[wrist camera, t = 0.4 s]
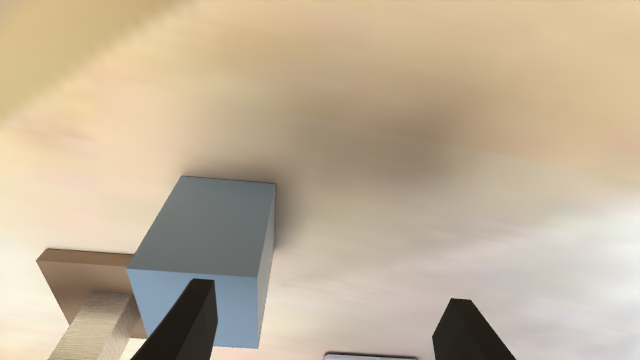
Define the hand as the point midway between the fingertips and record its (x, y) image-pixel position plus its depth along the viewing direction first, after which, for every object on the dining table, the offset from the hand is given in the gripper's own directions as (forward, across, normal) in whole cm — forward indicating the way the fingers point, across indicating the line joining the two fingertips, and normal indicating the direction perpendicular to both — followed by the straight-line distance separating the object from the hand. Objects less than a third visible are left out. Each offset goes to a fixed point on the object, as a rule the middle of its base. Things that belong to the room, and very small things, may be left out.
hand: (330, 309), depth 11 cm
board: (+9, +13, +13) cm, 21 cm away
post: (+9, +13, +13) cm, 21 cm away
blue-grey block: (+9, +5, +5) cm, 12 cm away
